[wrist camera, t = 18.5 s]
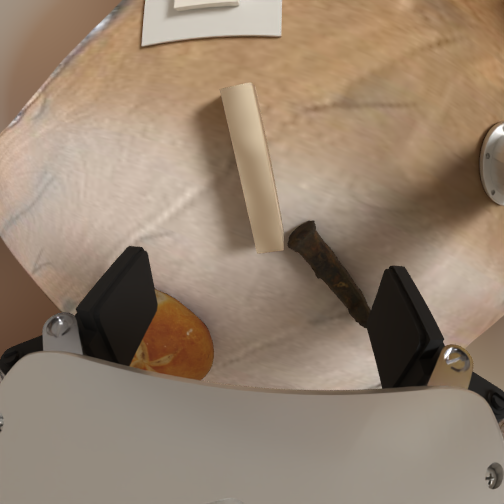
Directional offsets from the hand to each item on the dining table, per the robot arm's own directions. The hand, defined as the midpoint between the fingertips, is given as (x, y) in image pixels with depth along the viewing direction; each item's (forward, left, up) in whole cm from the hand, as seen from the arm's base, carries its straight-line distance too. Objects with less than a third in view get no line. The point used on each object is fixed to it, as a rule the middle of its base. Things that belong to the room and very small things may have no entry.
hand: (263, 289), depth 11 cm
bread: (+19, +28, -24) cm, 41 cm away
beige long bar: (+2, 0, -24) cm, 24 cm away
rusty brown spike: (-10, +14, -24) cm, 29 cm away
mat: (+8, -22, -23) cm, 33 cm away
